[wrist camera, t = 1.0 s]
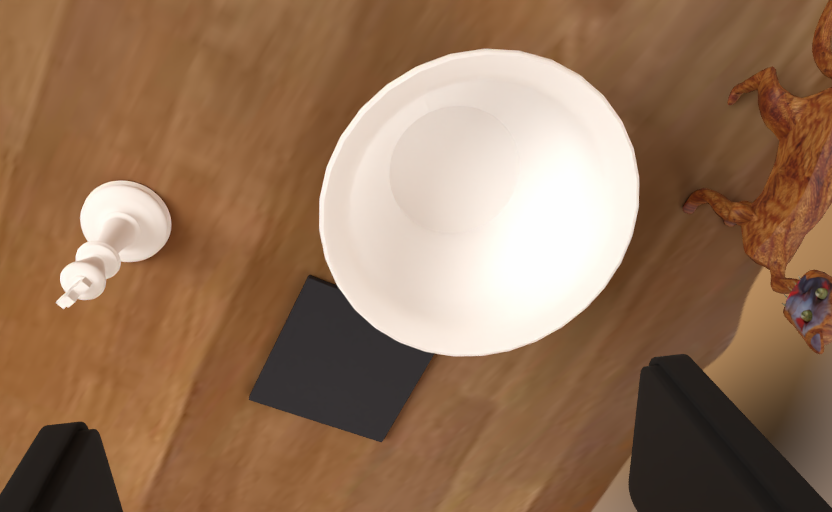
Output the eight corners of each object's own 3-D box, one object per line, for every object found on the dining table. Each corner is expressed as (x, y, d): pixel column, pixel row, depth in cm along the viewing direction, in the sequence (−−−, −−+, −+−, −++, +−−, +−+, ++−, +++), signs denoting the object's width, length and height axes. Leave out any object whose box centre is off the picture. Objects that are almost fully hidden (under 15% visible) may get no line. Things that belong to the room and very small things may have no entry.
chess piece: (189, 225, 39) (149, 306, 30) (129, 273, 40) (73, 367, 31) (125, 163, 37) (61, 230, 28) (63, 215, 38) (-18, 296, 29)
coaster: (249, 395, 45) (248, 400, 44) (308, 274, 41) (308, 277, 41) (381, 438, 48) (381, 442, 47) (446, 327, 44) (447, 332, 44)
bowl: (389, 323, 44) (403, 402, 36) (269, 106, 37) (254, 146, 29) (611, 221, 43) (674, 280, 35) (529, -22, 36) (586, -15, 28)
